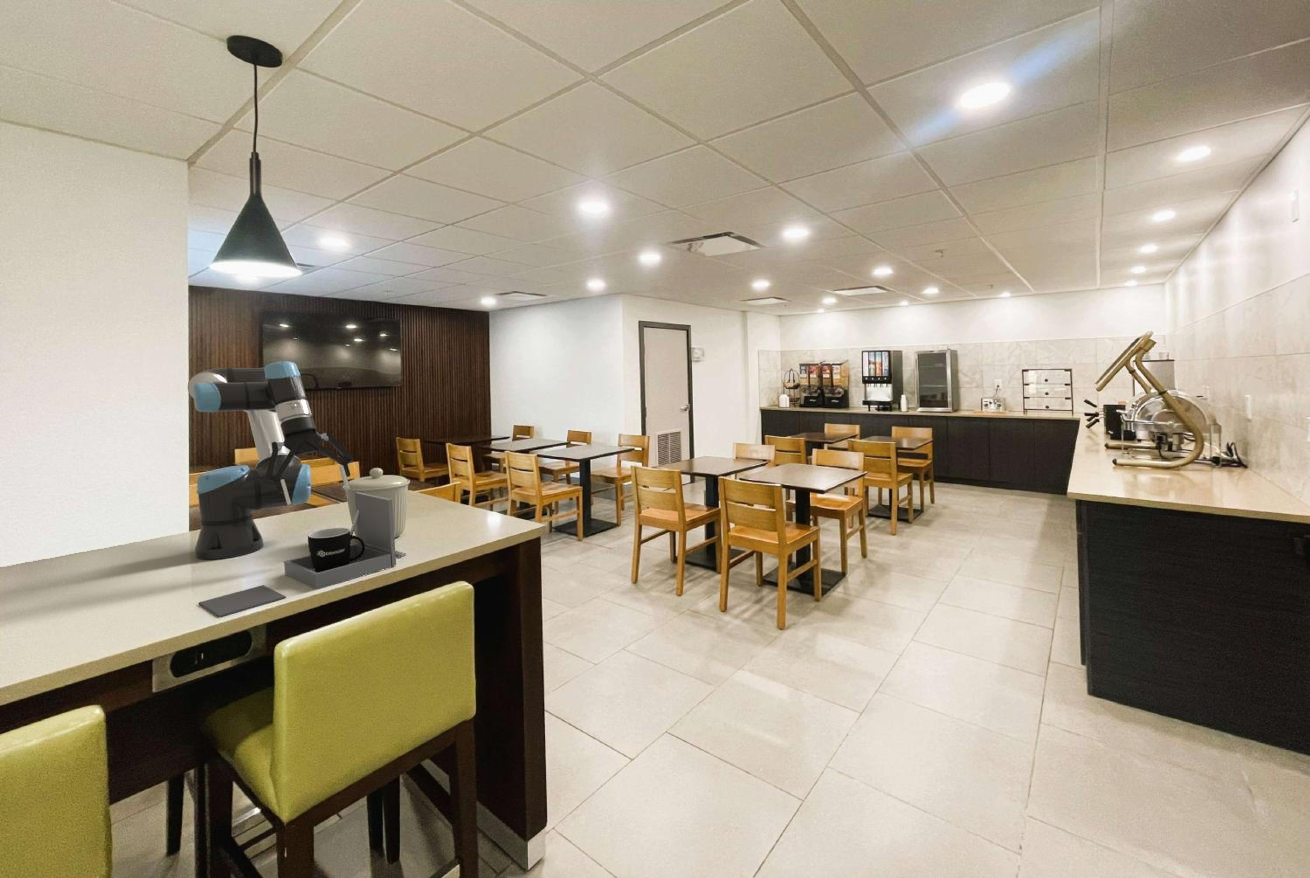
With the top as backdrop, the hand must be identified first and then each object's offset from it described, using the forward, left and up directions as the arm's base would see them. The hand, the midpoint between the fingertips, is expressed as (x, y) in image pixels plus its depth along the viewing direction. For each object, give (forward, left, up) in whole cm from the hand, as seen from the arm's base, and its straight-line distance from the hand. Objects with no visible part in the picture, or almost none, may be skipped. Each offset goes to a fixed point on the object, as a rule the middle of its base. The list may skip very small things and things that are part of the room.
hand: (319, 496), depth 147 cm
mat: (+15, -23, -17) cm, 33 cm away
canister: (-8, +20, -17) cm, 27 cm away
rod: (+10, +13, -17) cm, 24 cm away
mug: (+13, -2, -17) cm, 22 cm away
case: (+13, -2, -17) cm, 21 cm away
